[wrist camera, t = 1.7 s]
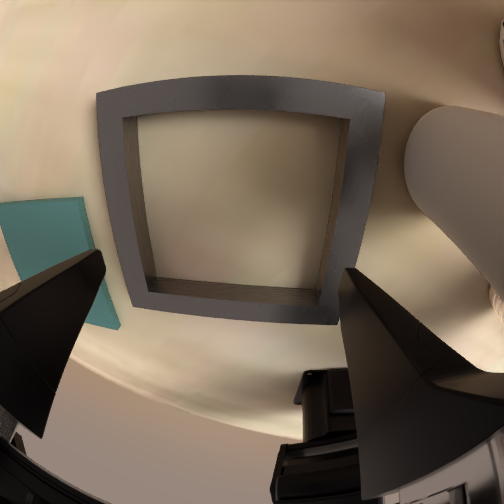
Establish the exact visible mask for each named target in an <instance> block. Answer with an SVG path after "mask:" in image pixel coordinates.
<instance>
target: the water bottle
mask: <svg viewBox="0 0 504 504" xmlns="http://www.w3.org/2000/svg"><path fill="white" fill-rule="evenodd" d="M489 298H490V302H491V304H492V306H493V308H494V310H495V311H496V314H497V315H498V317H499V318H500V320H501V321H502V323H503V324H504V302H503V301H502V299H501V298H500V297H499V295H498V294H497V293H496V291H495V290H494V289H493V287H492V286H491V285H490V290H489Z"/></svg>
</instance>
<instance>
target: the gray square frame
mask: <svg viewBox="0 0 504 504" xmlns="http://www.w3.org/2000/svg"><path fill="white" fill-rule="evenodd" d="M96 100H97V123H98V137H99V148H100V157H101V166H102V173H103V180H104V187H105V193H106V199H107V205H108V211H109V216H110V221H111V226H112V230H113V235H114V239H115V244H116V248H117V252H118V256H119V260H120V264H121V268H122V272H123V275H124V279H125V282H126V286H127V289H128V293H129V296H130V299H131V302H132V305H133V307H138V308H144V309H151V310H158V311H165V312H172V313H180V314H187V315H196V316H205V317H214V318H224V319H235V320H246V321H259V322H274V323H292V324H316V325H337V324H338V321H339V318H340V309H339V297H338V287H339V283H340V280H341V276H342V272H343V269H344V268H346V267H347V268H355V265H356V262H357V258H358V254H359V250H360V246H361V242H362V238H363V234H364V230H365V225H366V221H367V216H368V212H369V207H370V202H371V197H372V192H373V186H374V181H375V175H376V169H377V163H378V156H379V149H380V142H381V134H382V126H383V116H384V105H385V93H383V92H379V91H375V90H370V89H366V88H361V87H356V86H351V85H345V84H339V83H333V82H327V81H319V80H311V79H302V78H292V77H278V76H255V75H225V76H202V77H189V78H178V79H170V80H162V81H154V82H148V83H142V84H136V85H131V86H125V87H121V88H116V89H111V90H107V91H103V92H99V93H96ZM215 109H246V110H271V111H286V112H298V113H308V114H317V115H325V116H332V117H339V118H342V121H341V131H340V141H339V150H338V159H337V167H336V175H335V182H334V190H333V196H332V203H331V209H330V216H329V222H328V228H327V233H326V239H325V245H324V250H323V255H322V260H321V266H320V271H319V275H318V280H317V285H316V290H312V289H294V288H278V287H263V286H249V285H236V284H224V283H212V282H201V281H190V280H180V279H170V278H160V277H157V276H156V271H155V266H154V260H153V255H152V250H151V244H150V238H149V232H148V225H147V219H146V212H145V204H144V196H143V188H142V179H141V169H140V158H139V145H138V128H137V115H144V114H153V113H163V112H174V111H189V110H215Z"/></svg>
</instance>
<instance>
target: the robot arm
mask: <svg viewBox="0 0 504 504" xmlns="http://www.w3.org/2000/svg"><path fill="white" fill-rule="evenodd" d="M105 273H106V266H105V263H104V259H103V256H102V252H101V251H100V250H98V249H90V250H87V251H85V252H83V253H81V254H78V255H76V256H74V257H72V258H69V259H67V260H65V261H63V262H61V263H59V264H56V265H54V266H52V267H50V268H48V269H46V270H44V271H42V272H40V273H38V274H36V275H34V276H32V277H29V278H27V279H26V280H24V281H22V282H20V283H18V284H16V285H14V286H12V287H10V288H8V289H6V290H4V291H2V292H0V504H111V503H109V502H106V501H104V500H102V499H100V498H98V497H95V496H93V495H91V494H89V493H87V492H85V491H83V490H81V489H79V488H77V487H75V486H74V485H72V484H70V483H68V482H66V481H64V480H63V479H61V478H60V477H58V476H56V475H55V474H53V473H51V472H50V471H48V470H47V469H45V468H44V467H42V466H41V465H39V464H37V463H36V462H35V461H33V460H32V459H30V458H29V457H28V456H27V455H26V452H25V448H24V444H23V440H22V436H21V435H19V434H18V433H17V432H16V430H17V428H18V426H19V424H20V425H21V426H22V427H24V428H25V429H27V430H28V431H30V432H31V433H33V434H34V435H36V436H37V437H39V438H40V439H42V437H43V434H44V430H45V427H46V423H47V420H48V416H49V413H50V410H51V406H52V403H53V400H54V397H55V394H56V393H55V392H56V391H57V388H58V385H59V382H60V379H61V377H62V374H63V372H64V369H65V366H66V364H67V361H68V359H69V356H70V354H71V351H72V349H73V347H74V344H75V342H76V340H77V337H78V335H79V333H80V331H81V329H82V326H83V324H84V322H85V320H86V318H87V316H88V314H89V311H90V309H91V307H92V305H93V303H94V300H95V298H96V295H97V293H98V290H99V288H100V285H101V283H102V280H103V278H104V276H105ZM338 297H339V309H340V322H341V332H342V337H343V343H344V348H345V354H346V359H347V365H348V369H346V370H307V371H305V372H304V373H303V376H302V379H301V382H300V385H299V388H298V391H297V394H296V396H295V399H294V404H296V405H302V410H303V443H296V444H281V446H280V451H279V453H278V457H277V461H276V465H275V469H274V473H273V478H272V482H271V485H270V493H271V497H272V502H273V504H385V496H386V495H390V494H394V493H397V492H399V503H396V504H504V373H492V372H486V371H483V370H480V369H479V368H477V367H475V366H474V365H473V364H471V363H470V362H469V361H467V360H466V359H465V358H464V357H462V356H461V355H460V354H459V353H457V352H456V351H455V350H453V349H452V348H451V347H450V346H448V345H447V344H446V343H445V342H443V341H442V340H441V339H440V338H438V337H437V336H436V335H435V334H434V333H432V332H431V331H430V330H429V329H428V328H427V327H426V326H424V325H423V324H422V323H421V322H420V323H419V320H418V319H416V318H415V317H414V316H413V315H412V314H411V313H409V312H408V311H407V310H406V309H405V308H404V307H402V306H401V305H400V304H399V303H398V302H397V301H395V300H394V299H393V298H392V297H391V296H389V295H388V294H387V293H386V292H385V291H383V290H382V289H381V288H380V287H378V286H377V285H376V284H375V283H374V282H372V281H371V280H370V279H369V278H367V277H366V276H365V275H364V274H362V273H361V272H360V271H359V270H357V269H356V268H347V267H346V268H344V269H343V272H342V276H341V280H340V283H339V287H338ZM308 373H312V374H311V375H307V374H308ZM297 402H300V403H297Z"/></svg>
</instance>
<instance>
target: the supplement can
mask: <svg viewBox="0 0 504 504" xmlns="http://www.w3.org/2000/svg"><path fill="white" fill-rule="evenodd" d="M499 44H500V51H501V59H502V62H503V65H504V19H503V20H502V21H501V30H500V39H499Z"/></svg>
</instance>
